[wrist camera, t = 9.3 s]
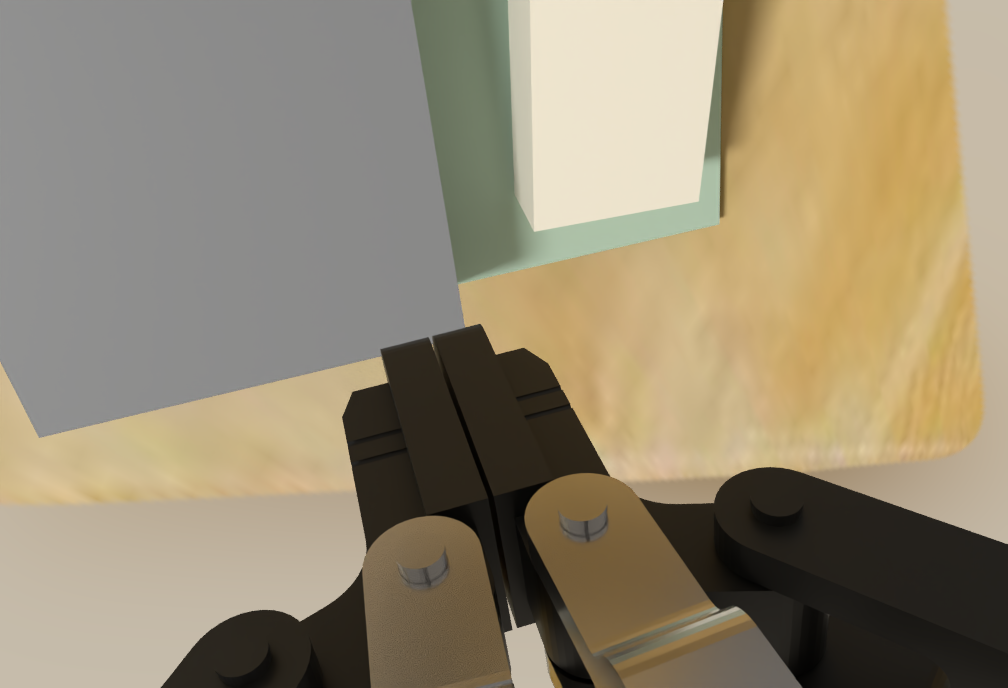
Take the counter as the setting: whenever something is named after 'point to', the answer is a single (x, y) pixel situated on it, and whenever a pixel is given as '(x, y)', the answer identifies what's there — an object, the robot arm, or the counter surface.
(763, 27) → the counter surface
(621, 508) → the robot arm
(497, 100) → the mat
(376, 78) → the block
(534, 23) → the cream rectangular slab
